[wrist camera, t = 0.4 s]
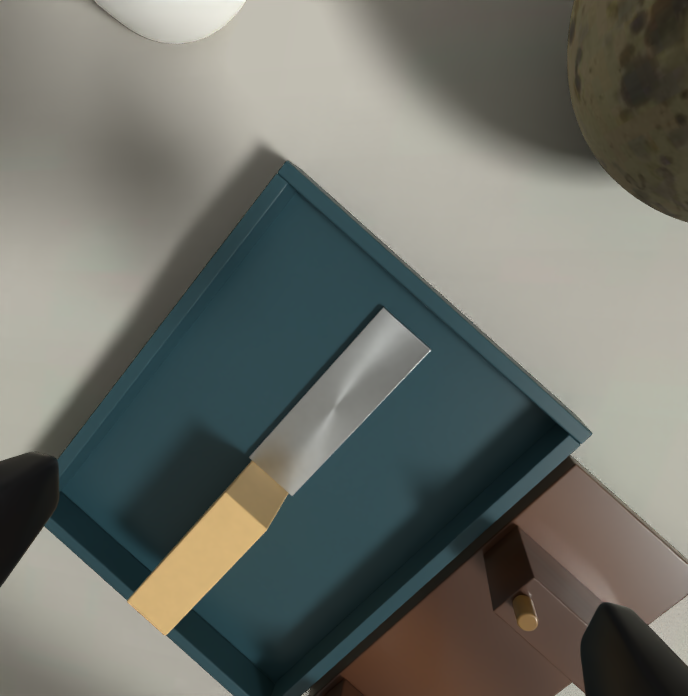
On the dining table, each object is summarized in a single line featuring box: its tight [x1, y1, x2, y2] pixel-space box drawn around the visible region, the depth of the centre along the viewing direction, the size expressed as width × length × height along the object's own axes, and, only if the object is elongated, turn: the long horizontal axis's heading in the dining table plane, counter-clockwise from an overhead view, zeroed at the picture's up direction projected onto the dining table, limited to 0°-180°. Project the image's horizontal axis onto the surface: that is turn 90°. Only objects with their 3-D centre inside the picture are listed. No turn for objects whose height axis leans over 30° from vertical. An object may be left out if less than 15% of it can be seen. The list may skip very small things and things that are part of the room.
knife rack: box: [308, 455, 688, 696], centre depth 21 cm, size 17×7×6 cm, turn 139°
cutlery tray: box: [44, 161, 592, 696], centre depth 22 cm, size 20×15×2 cm
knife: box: [127, 307, 431, 636], centre depth 21 cm, size 16×3×3 cm, turn 139°
